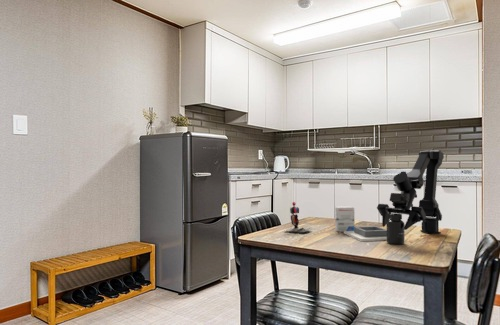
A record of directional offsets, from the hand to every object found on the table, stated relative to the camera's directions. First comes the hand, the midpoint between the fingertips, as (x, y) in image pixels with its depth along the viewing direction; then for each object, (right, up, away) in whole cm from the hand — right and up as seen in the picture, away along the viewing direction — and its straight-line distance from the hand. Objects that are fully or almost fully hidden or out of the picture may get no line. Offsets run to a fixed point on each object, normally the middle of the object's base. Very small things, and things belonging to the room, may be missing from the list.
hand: (393, 227), depth 143 cm
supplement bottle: (+1, -7, +1) cm, 7 cm away
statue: (-35, -7, +28) cm, 46 cm away
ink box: (-12, -7, +29) cm, 32 cm away
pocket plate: (-4, -7, +15) cm, 17 cm away
